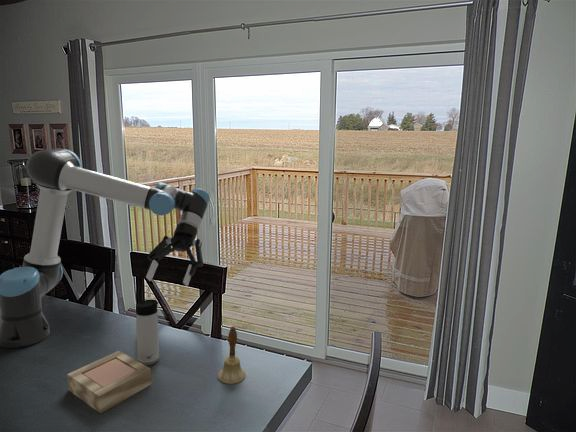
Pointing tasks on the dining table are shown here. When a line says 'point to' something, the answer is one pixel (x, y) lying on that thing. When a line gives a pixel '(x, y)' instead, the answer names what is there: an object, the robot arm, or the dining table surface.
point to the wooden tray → (113, 392)
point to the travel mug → (147, 332)
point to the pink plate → (109, 372)
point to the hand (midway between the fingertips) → (166, 281)
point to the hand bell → (231, 363)
